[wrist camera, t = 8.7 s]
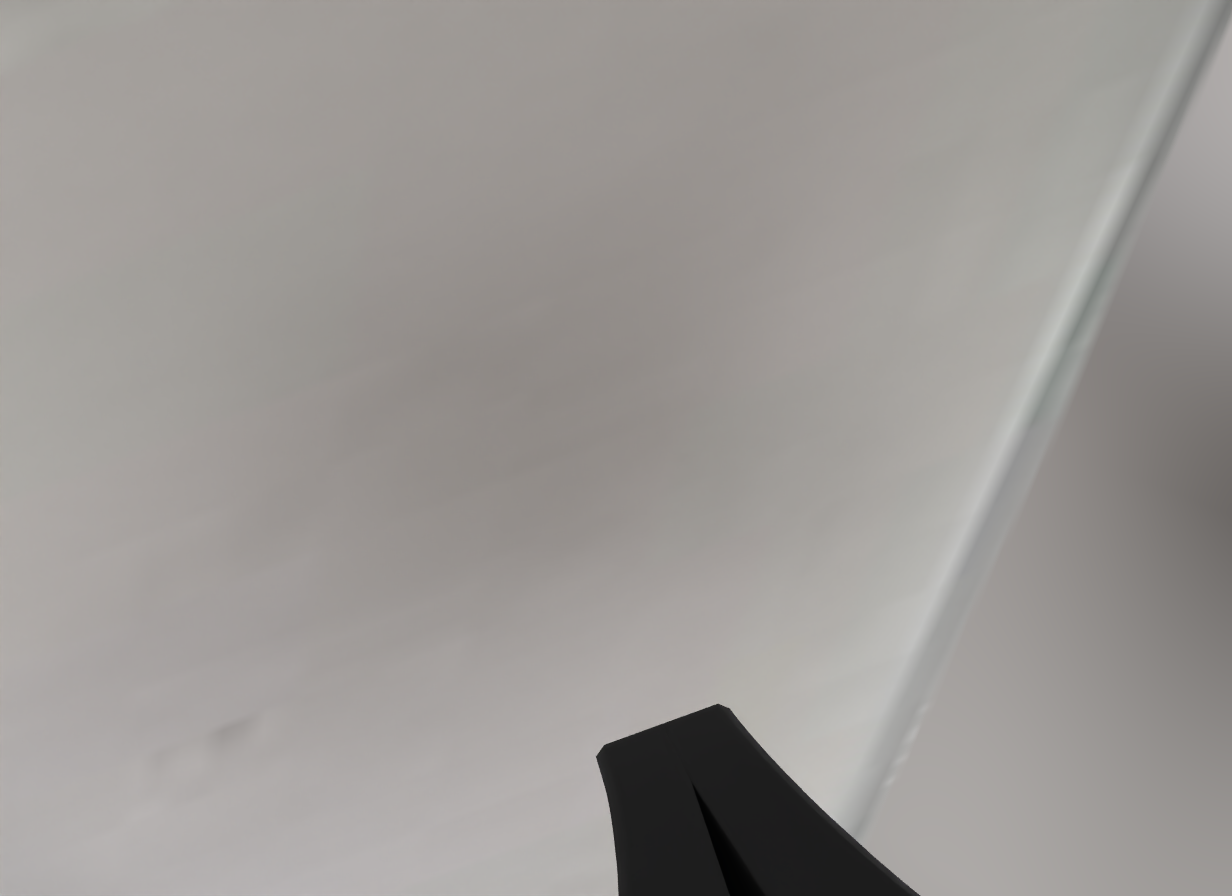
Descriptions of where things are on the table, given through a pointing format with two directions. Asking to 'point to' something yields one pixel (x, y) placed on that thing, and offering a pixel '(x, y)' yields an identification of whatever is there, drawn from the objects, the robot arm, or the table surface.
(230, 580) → the table surface
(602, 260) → the table surface
